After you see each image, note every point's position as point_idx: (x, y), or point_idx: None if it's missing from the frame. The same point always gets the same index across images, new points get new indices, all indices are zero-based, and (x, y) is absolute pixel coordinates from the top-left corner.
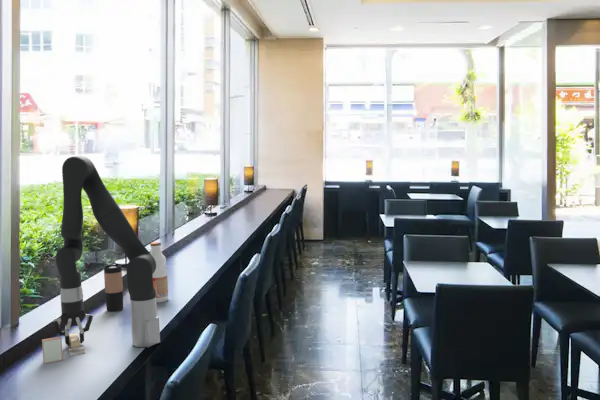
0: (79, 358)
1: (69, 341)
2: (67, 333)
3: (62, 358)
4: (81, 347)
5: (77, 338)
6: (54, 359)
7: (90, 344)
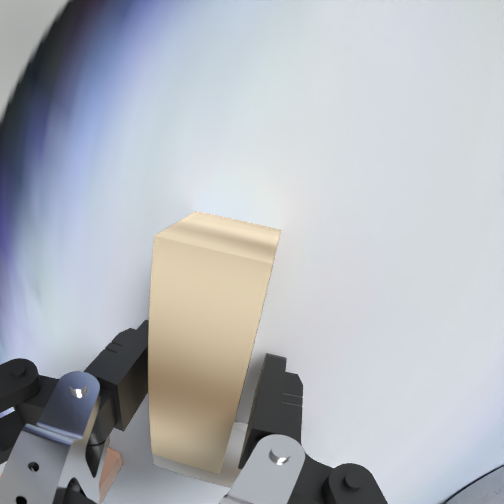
0: (194, 497)
1: (146, 392)
2: (93, 450)
3: (118, 469)
4: (239, 438)
5: (213, 439)
6: None
7: (333, 403)
